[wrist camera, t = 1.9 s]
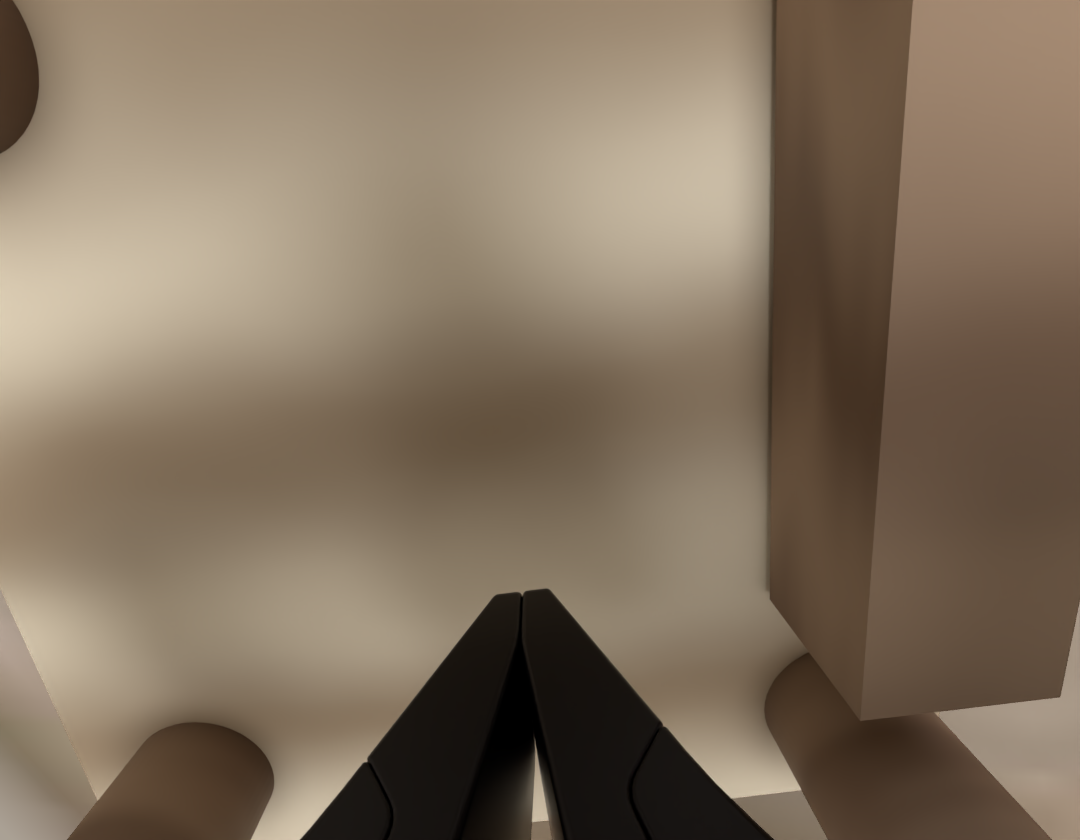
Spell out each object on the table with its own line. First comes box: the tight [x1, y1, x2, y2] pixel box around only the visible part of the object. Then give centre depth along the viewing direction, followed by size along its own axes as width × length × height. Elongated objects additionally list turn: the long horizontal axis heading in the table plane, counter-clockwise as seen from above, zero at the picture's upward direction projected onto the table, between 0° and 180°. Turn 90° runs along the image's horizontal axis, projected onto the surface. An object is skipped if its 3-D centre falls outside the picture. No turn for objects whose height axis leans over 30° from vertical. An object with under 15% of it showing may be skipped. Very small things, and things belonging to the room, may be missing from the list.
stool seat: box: [0, 0, 1052, 840], centre depth 9 cm, size 19×19×7 cm
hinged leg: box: [770, 0, 1080, 721], centre depth 8 cm, size 12×3×3 cm, turn 6°
